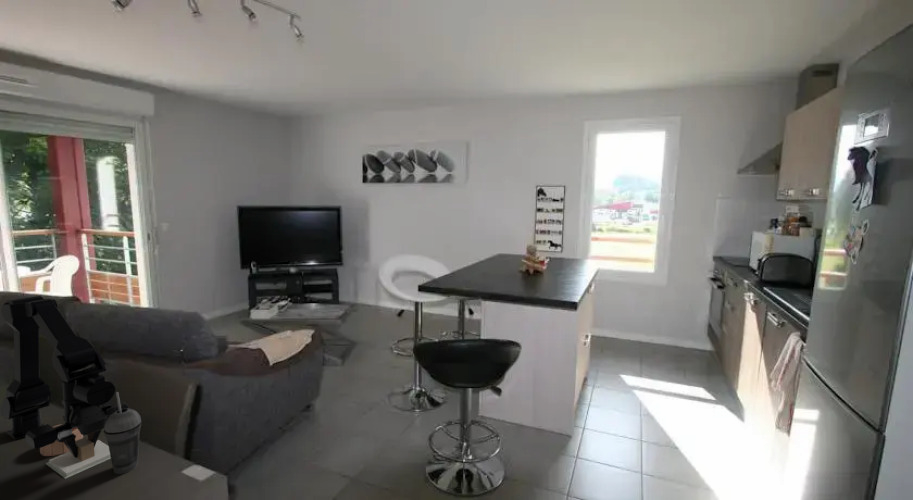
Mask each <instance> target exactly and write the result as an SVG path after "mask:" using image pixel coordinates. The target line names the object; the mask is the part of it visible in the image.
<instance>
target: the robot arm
mask: <svg viewBox="0 0 913 500" xmlns="http://www.w3.org/2000/svg"><path fill="white" fill-rule="evenodd" d="M0 307H1V308H0V312H1V315H2V318H3V320H4V322H5V323H6V324H7V325H8V326H9V327H11V329H12V330H13V354H14V355H13V356H14V357H13V359H14V363H13V364H14V379H13V380H12V382H11V383H10V384H9V385H8V387H6V390H5V391H6V392H5V398H3V400H2V402H1V404H0V416H1V417H2V418H4V419H7V420H10V423H11V429H10V430H8V431H7V432H6V434H7V435H8V436H10V437H11V438H13V440H17V441H18V440H19V439H20V440H21V439H23V438H25V443H26V444H27V445H28V446H30V447H32V448H33V449H35V450H36V449H37V450H38V449H40V448H41V447H44V446H47V445H49V444H52V443H54V442H55V441H58V442H64V444H65V445H66V446H67V448H68V449H69V452H71V454H72V455H73V456H74V457H75V458H76V457H77V455H78V452H77V447H76V442H75V438H76V435H74V434H73V433H72V429H74V428H77V429H78V430H79V431H80V433H81V434H82V435H83V436H87V439H88V440H89V441H91V442H93V443H94V447H95V445H96V442H97V440H99V437H100V434H101V432H102V431H103V430H104V427H105V423H106V421H107V419H108V418H109V417H110V416H111V415H112V414H113V413H114V412H116V411H118V404H117V399H116V400H112V398H113V397H114V396H115V394H116V386H115V385H114V383H113V382H111V381H108V380H106V379H105V377H106V376H105V375H101V374H100V373H104V372H106V371H107V369H106V362H105V360H104V359H103V357H102V355H101V353H100V352H99V350H98V348H97V347H95V346H94V345H93V344H92V343H91V342H90V341H89V340H88V338H87V339H86V338H84V337H80V336H78V335H77V334H76V333H75V331H74V330H73V329H72V328H71V326H70V324H69V323H68V321H67V320H66V318H65V317H64V316H63V314H62V313H61V311H60V310H59V308H58V304H57V300H56V299H54V298H53V297H52V298H43V296H41V295H33V296H28V297H21V298H13V299H8V300H6V302H4V303H3V304H2V305H1V306H0ZM40 331H41V332H42V333H43V335H44V336H45V338H46V339H47V341H48V342H49V344H50V345H51V347H52V349H53V354H52V357H51V360H52V365H53V368H54V370H55V371H56V373H57V374H58V377H59V378H61V387H62V388H61V389H62V400H61V405H63V411H64V415H63V416H62V419H63V421H64V423H61V424H62V425H60V424H58V425H59V426H57V425H55V426H56V427H54V426H52V425H50V424H48V423H47V424H43V422H42V417H41V416H42V415H41V409H43V408H47V407H50V404H51V397H52V396H51V395H52V390H51V389H50V385H49V384H48V383H46V382H45V381H44V380H43V379H42V378H41V377H40V373H41V372H40V371H41V370H40ZM111 400H112V401H111ZM109 401H110V402H109ZM120 405H121V409H126V408H128V409H131V407H130V405H129V404H128V403H125V402H124V401H122V400H120Z"/></svg>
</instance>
